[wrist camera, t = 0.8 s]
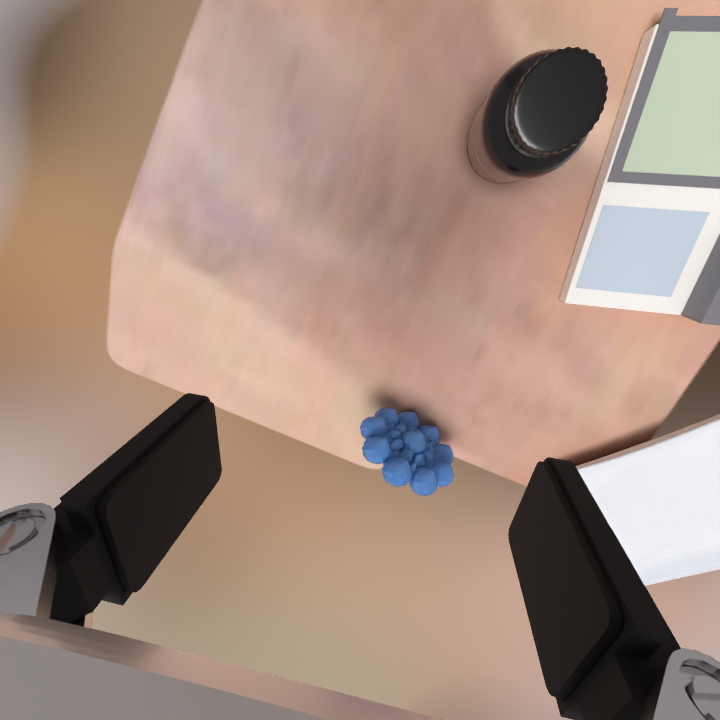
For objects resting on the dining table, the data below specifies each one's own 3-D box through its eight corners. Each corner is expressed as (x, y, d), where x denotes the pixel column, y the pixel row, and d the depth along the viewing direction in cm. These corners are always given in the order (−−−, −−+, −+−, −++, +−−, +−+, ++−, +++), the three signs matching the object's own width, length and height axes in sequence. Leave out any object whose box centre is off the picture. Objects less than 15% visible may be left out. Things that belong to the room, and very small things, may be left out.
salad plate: (603, 571, 47) (615, 596, 44) (530, 465, 42) (539, 485, 39) (793, 522, 40) (825, 549, 36) (732, 385, 35) (763, 403, 31)
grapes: (352, 416, 43) (329, 485, 32) (380, 377, 40) (365, 439, 30) (428, 461, 44) (431, 544, 33) (461, 427, 41) (475, 505, 30)
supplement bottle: (451, 164, 30) (467, 141, 20) (494, 75, 27) (540, -11, 17) (519, 198, 31) (573, 193, 20) (569, 112, 28) (664, 51, 17)
